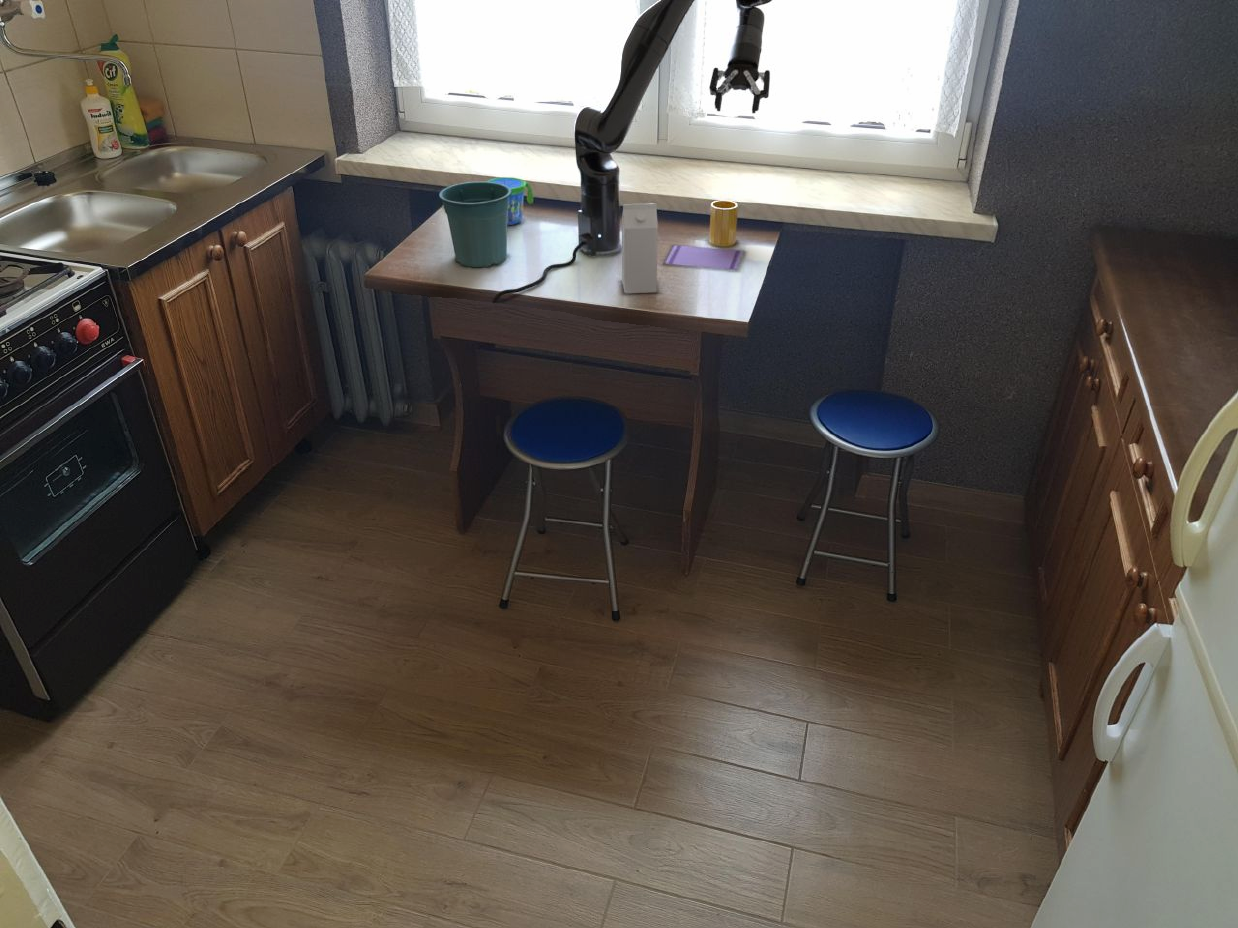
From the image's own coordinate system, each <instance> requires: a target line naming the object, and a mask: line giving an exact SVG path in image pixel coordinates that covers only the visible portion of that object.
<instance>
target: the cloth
mask: <svg viewBox="0 0 1238 928" xmlns="http://www.w3.org/2000/svg"><path fill="white" fill-rule="evenodd" d="M743 253H744V250H738V249H737V250H736V249H723V248H714V247H699V246H689V245H676V244H674V245H673V247H672V249H671V251H670V253H669V255H668V257H667V258H666V260H665V262H664V264H665V265H677V266H686V267H687V266H688V267H698V268H708V269H709V268H710V269H721V270H731V271H732V270H733V271H737V270H738V268H739V265H740V262H741V259H742V256H743Z"/></svg>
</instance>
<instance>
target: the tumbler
mask: <svg viewBox="0 0 1238 928" xmlns="http://www.w3.org/2000/svg"><path fill="white" fill-rule="evenodd" d="M738 211H739V205H738V203H737V202H735V201H732V200H725V199H724V200H722V199H721V200H715V201H713V202H711V203H710V211H709V213H710V214H709V231H708V242H709V243H710V244H711V245H713V246H716V247H717V246H718V247H730V246H733V245H735V243H736V242H737V241H736V240H737V224H738V213H739V212H738Z"/></svg>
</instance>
